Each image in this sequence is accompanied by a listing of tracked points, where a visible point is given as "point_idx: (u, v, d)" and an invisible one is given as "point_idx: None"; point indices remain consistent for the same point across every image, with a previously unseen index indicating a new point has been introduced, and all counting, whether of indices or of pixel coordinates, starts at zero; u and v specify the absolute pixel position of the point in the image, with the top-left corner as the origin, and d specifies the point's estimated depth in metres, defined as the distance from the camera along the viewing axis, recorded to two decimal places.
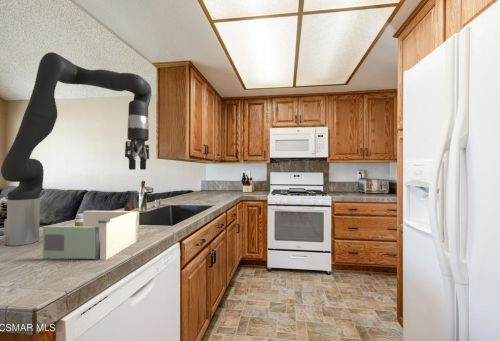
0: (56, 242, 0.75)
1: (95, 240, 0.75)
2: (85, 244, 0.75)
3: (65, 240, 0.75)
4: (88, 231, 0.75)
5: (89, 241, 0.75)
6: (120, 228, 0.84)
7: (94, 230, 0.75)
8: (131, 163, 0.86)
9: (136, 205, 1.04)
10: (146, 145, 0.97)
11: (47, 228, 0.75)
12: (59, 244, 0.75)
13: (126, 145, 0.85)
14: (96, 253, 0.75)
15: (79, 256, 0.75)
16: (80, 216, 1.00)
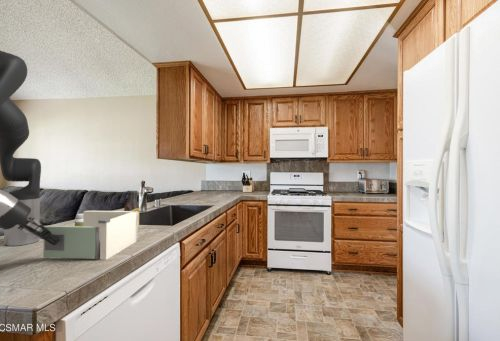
0: None
1: (95, 240, 0.75)
2: (85, 244, 0.75)
3: (65, 240, 0.75)
4: (88, 231, 0.75)
5: (89, 241, 0.75)
6: (120, 228, 0.84)
7: (94, 230, 0.75)
8: None
9: (136, 205, 1.04)
10: (34, 230, 0.65)
11: (48, 228, 0.75)
12: (59, 244, 0.75)
13: None
14: (96, 253, 0.75)
15: (79, 256, 0.75)
16: (80, 216, 1.00)
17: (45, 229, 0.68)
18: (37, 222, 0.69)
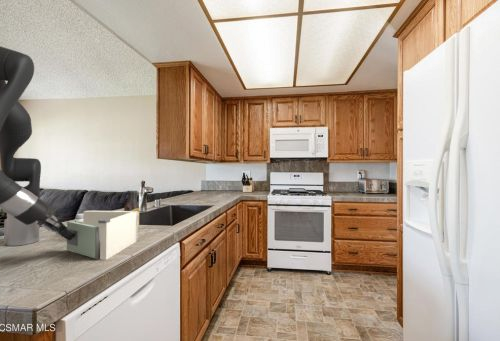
0: (73, 237, 0.80)
1: (95, 240, 0.75)
2: (89, 242, 0.77)
3: (78, 236, 0.80)
4: (90, 230, 0.76)
5: (91, 240, 0.76)
6: (120, 228, 0.84)
7: (94, 229, 0.75)
8: None
9: (136, 205, 1.04)
10: (52, 225, 0.71)
11: (69, 223, 0.82)
12: (74, 239, 0.80)
13: None
14: (96, 253, 0.75)
15: (85, 253, 0.77)
16: (80, 216, 1.00)
17: (62, 225, 0.73)
18: (55, 218, 0.74)
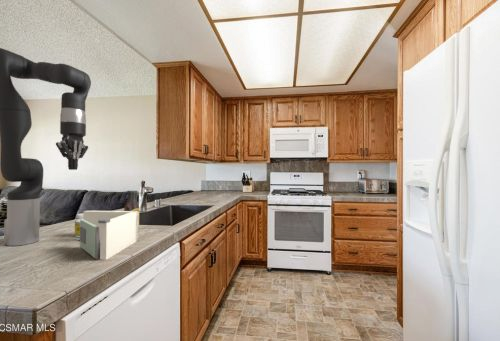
0: (82, 235, 0.83)
1: (95, 240, 0.75)
2: (92, 242, 0.77)
3: (86, 235, 0.82)
4: (92, 230, 0.77)
5: (93, 240, 0.77)
6: (120, 228, 0.84)
7: (95, 229, 0.75)
8: (70, 163, 0.84)
9: (136, 205, 1.04)
10: None
11: (81, 221, 0.85)
12: (83, 237, 0.82)
13: (58, 147, 0.80)
14: (95, 253, 0.75)
15: (90, 252, 0.79)
16: (80, 216, 1.00)
17: None
18: None
